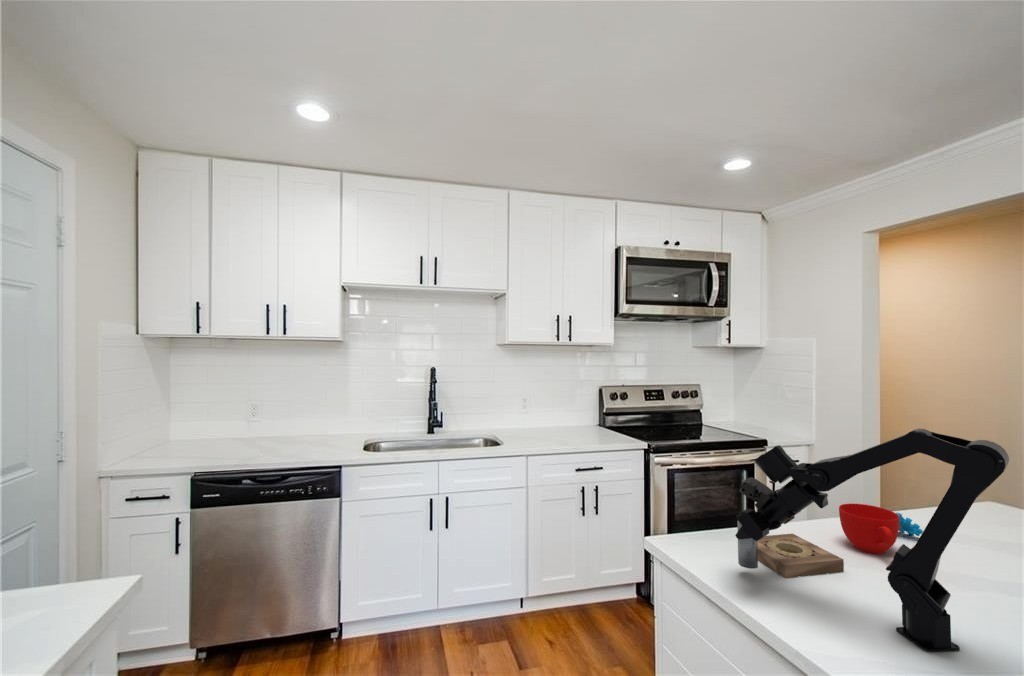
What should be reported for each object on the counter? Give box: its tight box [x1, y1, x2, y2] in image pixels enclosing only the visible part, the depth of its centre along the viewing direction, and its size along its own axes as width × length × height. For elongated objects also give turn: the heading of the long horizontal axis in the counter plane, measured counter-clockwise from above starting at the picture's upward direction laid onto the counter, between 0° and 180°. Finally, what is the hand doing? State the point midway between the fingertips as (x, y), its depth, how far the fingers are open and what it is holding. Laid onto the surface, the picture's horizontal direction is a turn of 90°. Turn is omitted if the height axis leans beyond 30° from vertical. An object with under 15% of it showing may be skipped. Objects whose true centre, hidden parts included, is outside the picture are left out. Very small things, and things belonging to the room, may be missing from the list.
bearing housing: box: [757, 533, 845, 579], centre depth 118 cm, size 16×16×3 cm
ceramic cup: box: [838, 503, 900, 555], centre depth 122 cm, size 13×17×10 cm
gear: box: [889, 509, 924, 537], centre depth 133 cm, size 11×6×10 cm
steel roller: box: [736, 520, 759, 570], centre depth 110 cm, size 4×4×10 cm
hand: (741, 534), depth 112 cm, fingers closed on steel roller, 4 cm apart
